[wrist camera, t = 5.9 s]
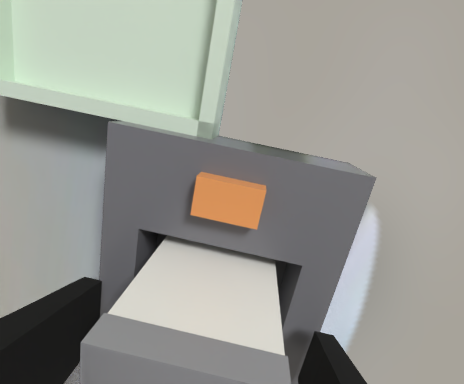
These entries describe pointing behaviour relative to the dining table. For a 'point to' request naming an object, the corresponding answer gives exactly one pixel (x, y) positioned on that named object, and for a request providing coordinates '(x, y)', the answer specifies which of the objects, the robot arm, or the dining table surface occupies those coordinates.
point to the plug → (191, 322)
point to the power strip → (232, 214)
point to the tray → (122, 58)
